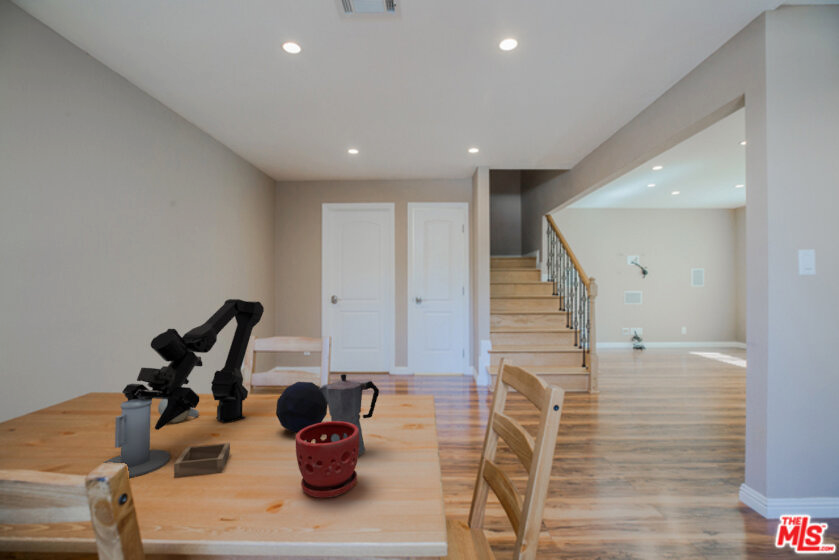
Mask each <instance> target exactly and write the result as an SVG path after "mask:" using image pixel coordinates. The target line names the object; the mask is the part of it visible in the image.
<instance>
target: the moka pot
mask: <svg viewBox="0 0 839 560" xmlns="http://www.w3.org/2000/svg"><path fill="white" fill-rule="evenodd" d="M340 378H341V380H339V381H334V382H332V383H327V384H323V385H322V386H319V387H320V388H319V390H321V391H322V393H323V395H324V397H325V399H326V401H327V403H328V406H327V408H328V412H329V416H330V421H342V422H349V423H352V424H354V425H356V426H357V427H358V430H359V454H358V456H360V455H362V454H363V452H364V451H366V450H365V443H364V437H363V432H362V425H361V421H360V419H361V415H360V414H361V411H362V401H363V400H362V398H363V391H365V390H366V391H367V390H369V389H372V390H373V393H372V398H371V402H370V408H369V410H368V413H367V414H362V418H363V419H369V418H372V417H373V414H374V412H375V411H374V410H375V407H376V403H377V400H378V397H379V394H380V389H379V388H378V387H377V386H376V385H375V384H374V382H373V381H372V380H369V381H367V382H366V381H362V382H361V381H357V380H347V374H345V373H342V374H340ZM343 436H344V438H345V439H346V438H347V434H346V433H344V435H343ZM331 440H332V442H336V441H340V438H339V436H338V435H337V434H334V435H332V437H331Z"/></svg>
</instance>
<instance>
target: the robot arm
mask: <svg viewBox="0 0 839 560" xmlns="http://www.w3.org/2000/svg"><path fill="white" fill-rule="evenodd" d="M264 311H265V308H264V305H263V304H262V303H261V302H260V301H246V300H243V299H240V298H238V299H237V298H236V299H235V298H228V299H226V300H225V301H224V304H223V305H221V306H220V308H219V309H217V311H216V312H214V313H213V314H212V315H211V316H210V317H209V318H208V319H207V320H206V321H205V322H204V323H203V324H201V325H199V326H196V327H194V328H192V329H190V330H188V331H187V332H186V333H184V334H183V336H181V335H180V333H179V332H178V330H176V329H175V328H167V330H166V331H164V332H161V333H160V334H158V335H157V336H155V337H153V339H152V340H151V342H150V348H152V350H153V351H154V352H156V353H157V354H158V356H160V357H161V359H163V360H164V361H165V362H169V364H168V365H165V366H161V368H156V367H155V368H153V367H141V368H140V371H139V373H138V375H137V378H136V381H137V382H145V383H147V384H146V385H147V386H148V387H149V388H151V389H149V388H147V387H146V386H145V385H144V384H143V383H129V384H126V386H125V387H124V388H123V390H122V391H121V392H122V393H123V394H124V397H125V398H126V399H127V401H129V400H134V399H151V400H152V401H153V399H157V400H162V399H168V402H167V407H166V408H165V410H164V412H163V413H162V415H160V417H159V418H158V420H157V422H156V423H155V426H154V430H156V431H159V430H160V429H162V428H163V427H164V426H166V425H167V424H169V423H171V422H170V421H171V420H173V419H174V418H176V417H177V416H179V415H181V414H182V413H184V412H185V411H189V410H190V409H191V408H193V409H196V407H197V406H198V405H199V402H200V396H199V394H197V393H196V392H195V391H194V389H192V388H191V387H185V386H183V385H188V384H189V382H190V380H189V379H188V378H189V376H190V374H191V373H192V372H193V370H194V368H195V367H203V361H202V357H201V356H198V355H197V354H195V353H201V354H207V353H208V352H210V351H211V350H212V348H213V347H214V346H215V344H216V342H217V338H218V334H219V333H220V332H222V330H223V329H224V328H225V327H227V325H228V324H229V323H230V322H231V321H232V320H233V319H235V321H236V324H237V325H236V327H235V331H234V333H233V337H232V340H231V344H230V347H229V351H228V353H227V358H226V359H225V364H224V366H223V367H222V368H221V370H215V372H214V374H213V379H212V380H211V382H210V383H211V388H210V389H211V393H212V396H213V399H214V401H218V405H217V406H216V419H217V420H218V421H220V422H222V423H223V424H227V423H230V422H235V421H239V420H242V419H245V418H246V417H245V415H243V406H244V405H243V401H245V400H246V399H248V394H249V391H248V390H247V388H246V387H245V386H244V385H243V383H244V382H243V381H244V376H243V373H242V371H241V370H242V367H243V363H244V361H245V356H246V352H247V348H248V346H249V343H250V338H251V335H252V331H253V328H254V327H255V326H257V324H258V323H259V322H260V321H261V319H262V316H263V314H264Z"/></svg>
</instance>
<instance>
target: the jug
mask: <svg viewBox="0 0 839 560" xmlns="http://www.w3.org/2000/svg"><path fill="white" fill-rule="evenodd" d="M152 404H153V399H152V400H151V399H134V400H129V401H128V400H126V401H123V402H121V403H120V409H121V415H118V416H115V431H114V432H115V433H114V434H115V437H114V448H117V449H119V448H120V455H121V463H125V464H127V466H128V467H132V466H137V465H141V464H143V463H145V462H147V461H149V459H150V450H151V414H152V407H151V406H152Z"/></svg>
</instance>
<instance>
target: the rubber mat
mask: <svg viewBox="0 0 839 560" xmlns="http://www.w3.org/2000/svg"><path fill="white" fill-rule="evenodd" d="M169 459H171V454H170V452H169V451H166V450H162V449H150V459H149V461H147V462H145V463H143V464H141V465H137V466H132V467H128V471H129V477H130V478H129V479H132V478H135V477H134V476H136V477H139V475H140V476H144V475H146V473H147V474H149V472H150V473H153V472H154V471H157V470H160V469H161V468H163V467H164V466H166V465H167V464H168V463H169V461H170V460H169ZM107 462H113V463H121V454H120V455H118V456H114V457H112V458H110V459H108V460H106V461H104V462H103V463H107ZM167 462H168V463H167ZM166 463H167V464H166ZM162 466H163V467H162ZM143 474H144V475H143Z"/></svg>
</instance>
